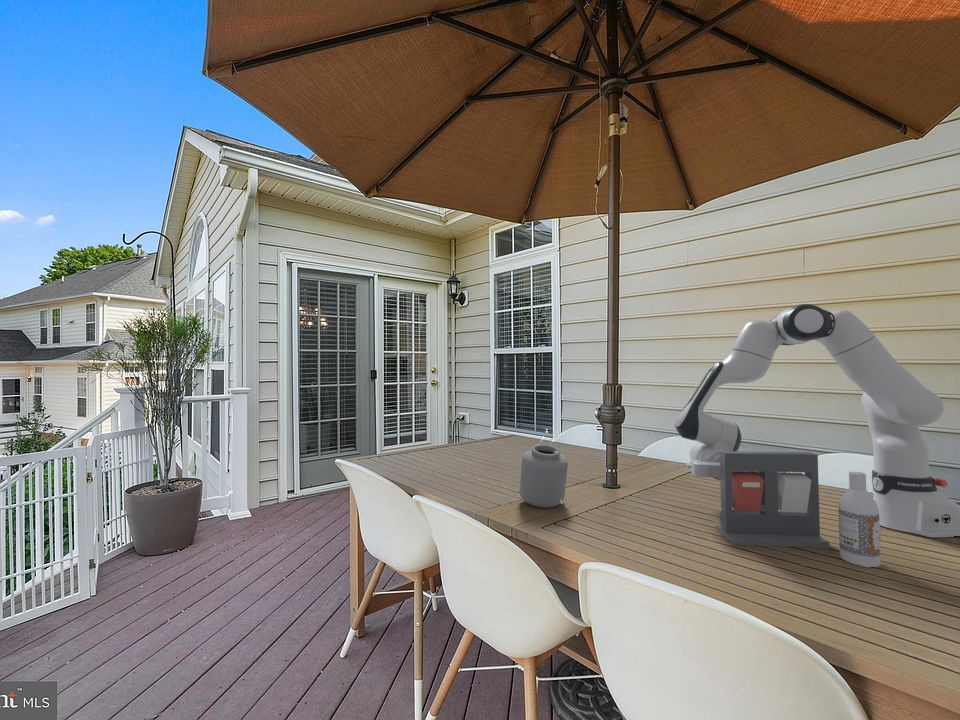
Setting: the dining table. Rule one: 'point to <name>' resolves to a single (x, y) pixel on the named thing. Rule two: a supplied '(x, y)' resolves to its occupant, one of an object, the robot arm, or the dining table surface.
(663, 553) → the dining table surface
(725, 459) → the switch panel
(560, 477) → the jar
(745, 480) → the red rocker
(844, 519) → the bath foam
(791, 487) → the grey rocker
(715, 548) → the dining table surface
